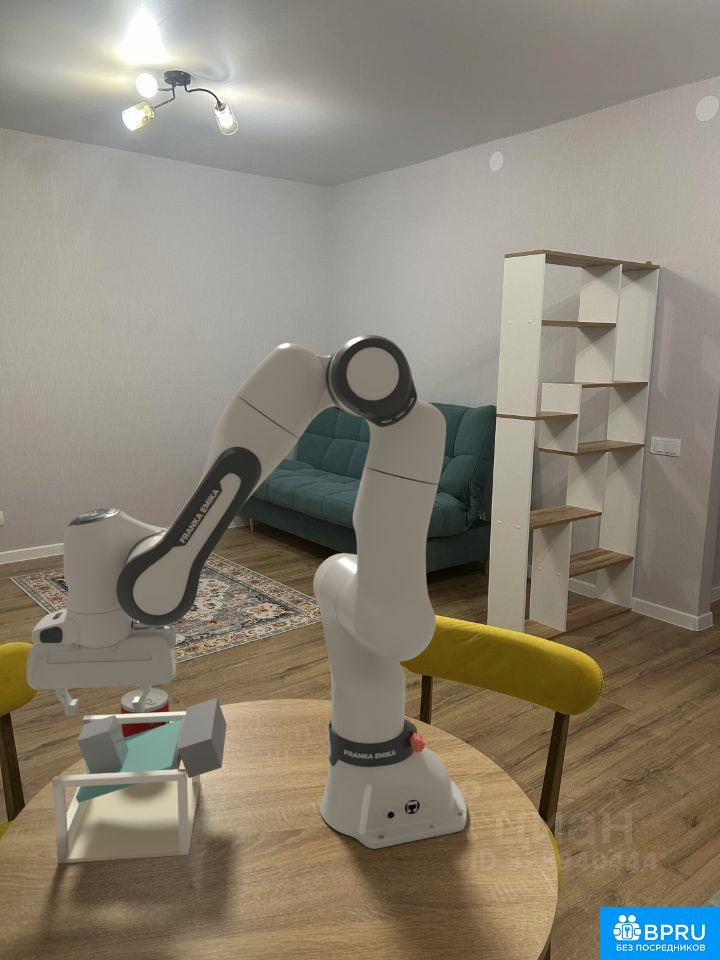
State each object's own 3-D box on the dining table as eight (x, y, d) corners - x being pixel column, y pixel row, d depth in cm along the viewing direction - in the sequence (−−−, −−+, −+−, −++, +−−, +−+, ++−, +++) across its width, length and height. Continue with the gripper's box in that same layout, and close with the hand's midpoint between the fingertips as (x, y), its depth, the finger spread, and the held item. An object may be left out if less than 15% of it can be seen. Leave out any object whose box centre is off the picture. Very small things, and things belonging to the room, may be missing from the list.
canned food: (158, 772, 123) (155, 711, 121) (114, 766, 124) (111, 706, 122) (178, 747, 130) (176, 690, 128) (136, 742, 132) (134, 685, 130)
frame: (200, 781, 120) (198, 710, 118) (188, 854, 103) (185, 773, 101) (89, 787, 118) (84, 715, 116) (58, 863, 101) (52, 781, 99)
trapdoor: (226, 721, 117) (217, 694, 116) (221, 771, 103) (210, 742, 102) (104, 760, 116) (93, 734, 115) (82, 816, 102) (69, 787, 101)
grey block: (128, 749, 111) (115, 714, 110) (122, 766, 106) (108, 730, 105) (98, 758, 111) (84, 724, 109) (91, 776, 106) (76, 740, 105)
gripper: (178, 612, 109) (181, 698, 111) (33, 616, 106) (40, 704, 109) (172, 628, 103) (175, 719, 105) (19, 633, 100) (26, 726, 103)
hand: (105, 712), depth 107 cm, fingers open, 8 cm apart
